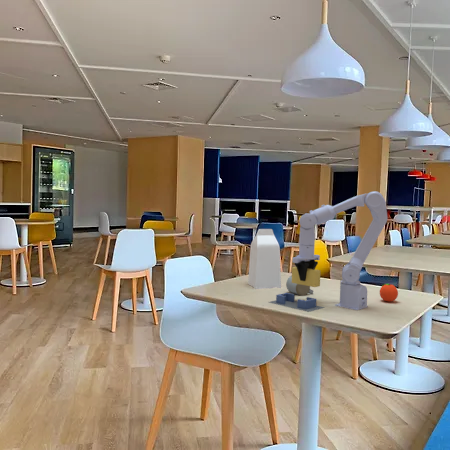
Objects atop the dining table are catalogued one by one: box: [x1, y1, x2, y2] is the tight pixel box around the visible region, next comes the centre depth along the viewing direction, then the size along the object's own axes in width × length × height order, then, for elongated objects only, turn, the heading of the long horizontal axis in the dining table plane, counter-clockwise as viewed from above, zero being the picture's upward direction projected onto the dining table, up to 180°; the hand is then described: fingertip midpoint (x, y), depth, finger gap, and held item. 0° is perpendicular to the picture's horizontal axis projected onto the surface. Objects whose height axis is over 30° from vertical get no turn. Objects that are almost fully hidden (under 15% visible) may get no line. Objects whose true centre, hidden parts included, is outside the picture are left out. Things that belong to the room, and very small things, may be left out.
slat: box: [291, 266, 321, 288], centre depth 175 cm, size 11×3×6 cm, turn 43°
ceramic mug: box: [285, 275, 314, 296], centre depth 193 cm, size 11×8×8 cm
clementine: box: [379, 283, 399, 303], centre depth 182 cm, size 8×7×7 cm
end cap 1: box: [275, 292, 296, 304], centre depth 175 cm, size 4×6×3 cm, turn 134°
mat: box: [268, 300, 325, 313], centre depth 172 cm, size 19×10×1 cm, turn 44°
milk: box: [247, 228, 282, 290], centre depth 208 cm, size 12×12×26 cm
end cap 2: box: [296, 296, 317, 310], centre depth 168 cm, size 4×6×3 cm, turn 134°
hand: (305, 280), depth 175 cm, fingers closed on slat, 3 cm apart
